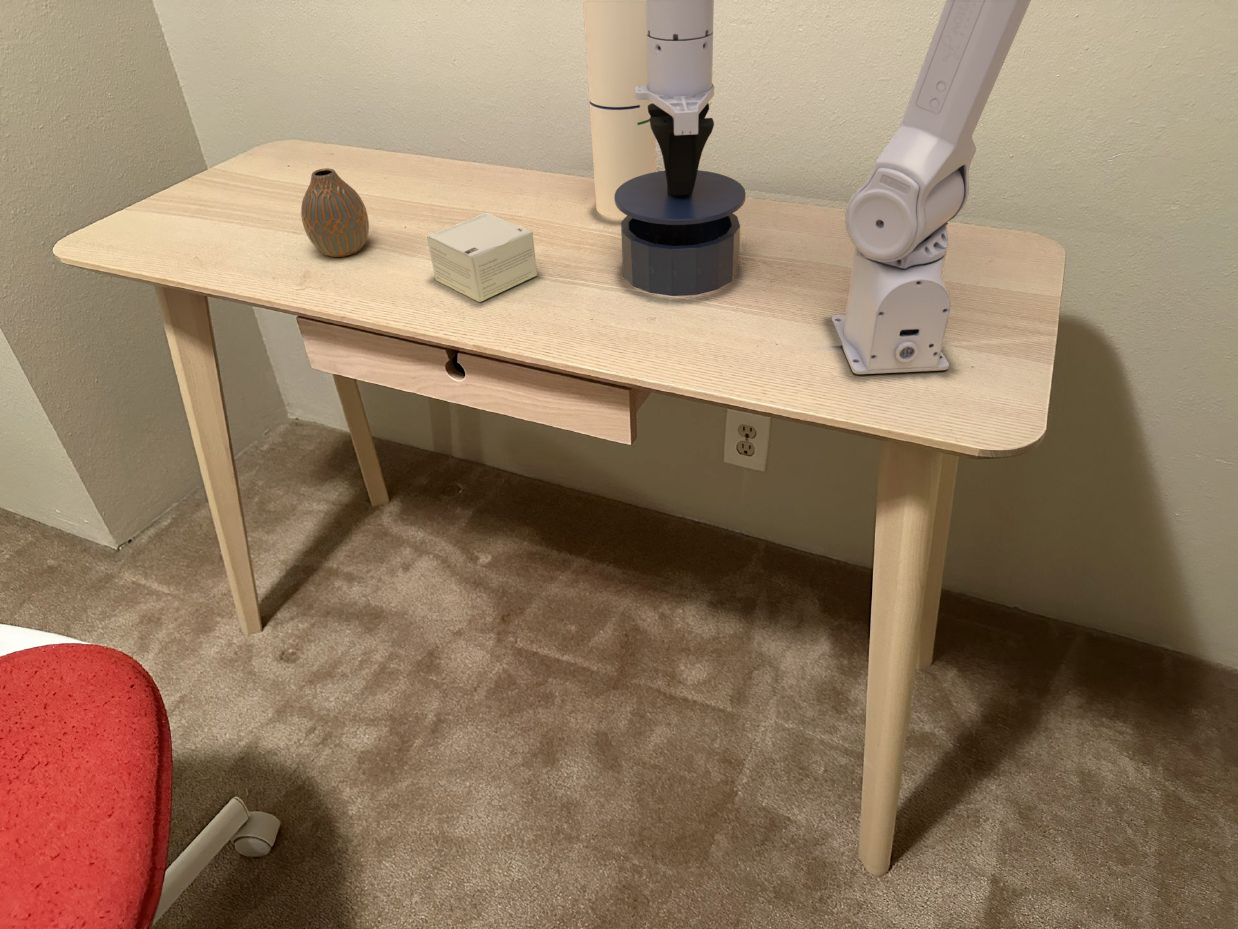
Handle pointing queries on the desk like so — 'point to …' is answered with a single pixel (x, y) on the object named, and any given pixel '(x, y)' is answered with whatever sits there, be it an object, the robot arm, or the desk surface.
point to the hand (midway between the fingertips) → (679, 187)
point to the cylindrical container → (617, 96)
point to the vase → (334, 215)
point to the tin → (680, 255)
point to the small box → (482, 256)
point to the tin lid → (679, 199)
